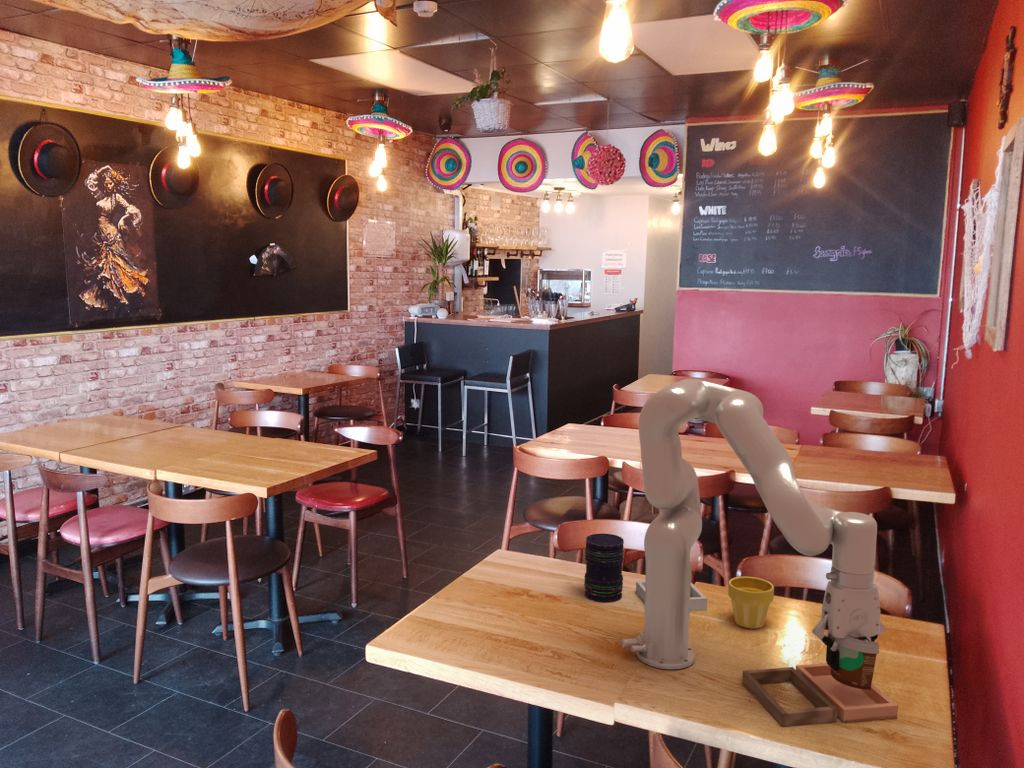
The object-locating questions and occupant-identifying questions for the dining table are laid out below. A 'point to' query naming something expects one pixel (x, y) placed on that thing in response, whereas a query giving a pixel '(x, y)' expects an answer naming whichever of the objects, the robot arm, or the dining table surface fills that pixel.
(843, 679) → the food container
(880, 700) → the terracotta tray
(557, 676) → the dining table surface
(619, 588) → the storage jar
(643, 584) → the grey parts rim
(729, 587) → the plant pot
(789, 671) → the walnut stand frame
